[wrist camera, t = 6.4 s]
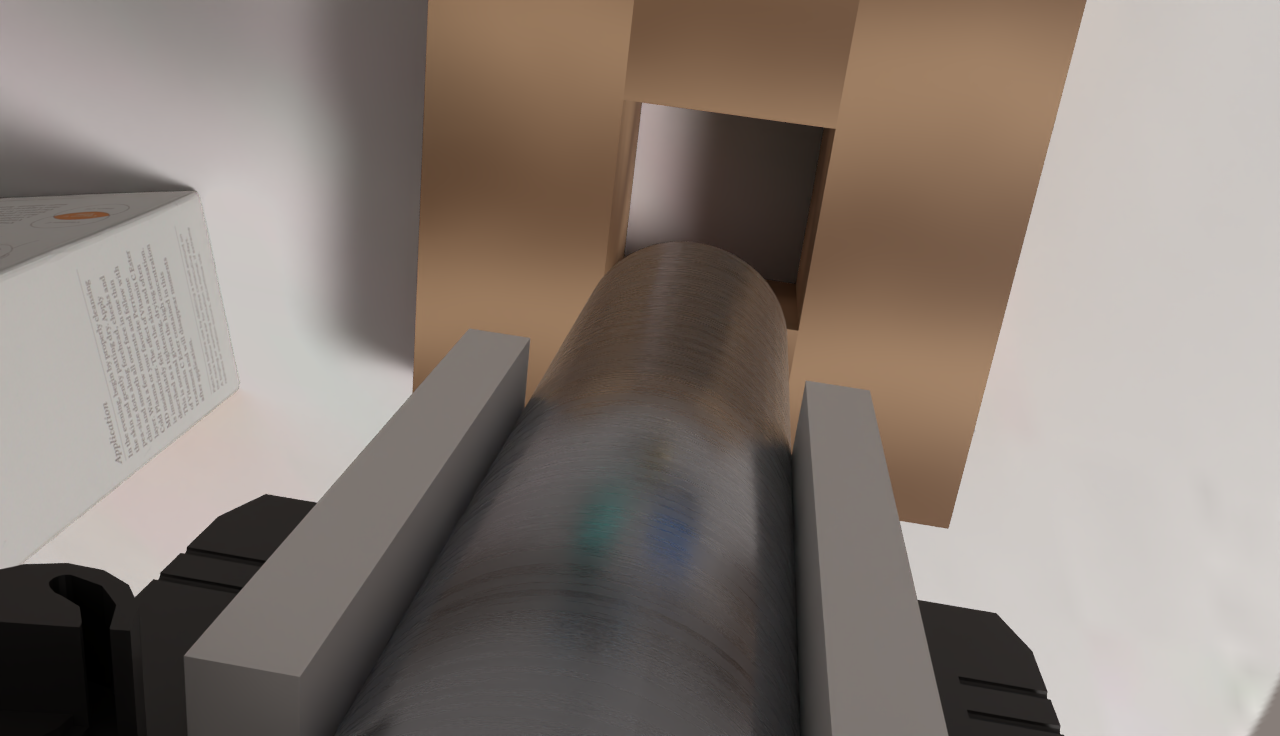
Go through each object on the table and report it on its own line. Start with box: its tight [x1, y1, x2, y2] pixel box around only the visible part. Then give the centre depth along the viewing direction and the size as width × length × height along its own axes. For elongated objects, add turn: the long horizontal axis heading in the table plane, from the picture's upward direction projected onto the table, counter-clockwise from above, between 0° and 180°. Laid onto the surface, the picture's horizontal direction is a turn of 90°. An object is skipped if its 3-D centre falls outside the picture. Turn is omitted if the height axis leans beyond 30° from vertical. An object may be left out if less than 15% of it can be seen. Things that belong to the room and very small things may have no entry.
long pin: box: [333, 241, 801, 736], centre depth 11 cm, size 3×3×14 cm
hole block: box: [413, 0, 1086, 528], centre depth 26 cm, size 14×14×4 cm
